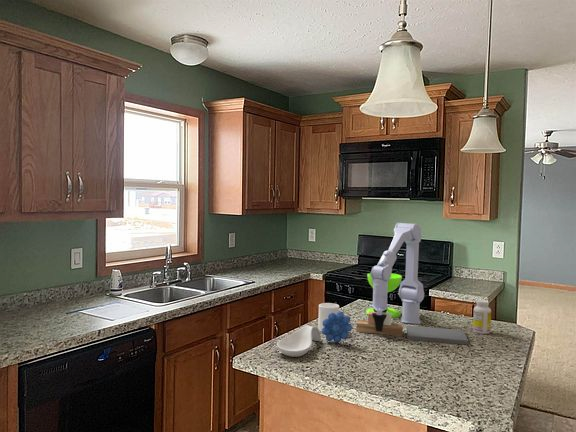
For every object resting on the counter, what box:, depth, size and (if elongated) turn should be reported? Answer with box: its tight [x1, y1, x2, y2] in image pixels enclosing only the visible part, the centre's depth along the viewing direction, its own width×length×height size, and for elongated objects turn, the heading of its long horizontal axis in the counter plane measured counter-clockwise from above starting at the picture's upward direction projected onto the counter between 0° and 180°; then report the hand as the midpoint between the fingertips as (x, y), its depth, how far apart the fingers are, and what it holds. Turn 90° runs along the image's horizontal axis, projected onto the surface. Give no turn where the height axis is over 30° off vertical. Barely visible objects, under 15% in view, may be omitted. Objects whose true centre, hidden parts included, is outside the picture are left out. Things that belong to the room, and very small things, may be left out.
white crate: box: [382, 312, 392, 325], centre depth 184 cm, size 4×4×4 cm
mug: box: [317, 302, 340, 333], centre depth 187 cm, size 12×8×10 cm
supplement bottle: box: [472, 299, 492, 335], centre depth 187 cm, size 7×7×13 cm
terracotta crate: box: [367, 311, 377, 324], centre depth 185 cm, size 4×4×4 cm
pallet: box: [356, 319, 403, 337], centre depth 185 cm, size 5×18×4 cm, turn 77°
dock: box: [406, 325, 469, 346], centre depth 180 cm, size 14×22×2 cm, turn 77°
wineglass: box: [365, 272, 403, 319], centre depth 214 cm, size 16×16×18 cm
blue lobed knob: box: [321, 311, 353, 344], centre depth 170 cm, size 12×7×12 cm, turn 70°
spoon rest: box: [276, 324, 322, 358], centre depth 162 cm, size 24×12×7 cm, turn 153°
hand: (379, 328), depth 185 cm, fingers open, 7 cm apart
